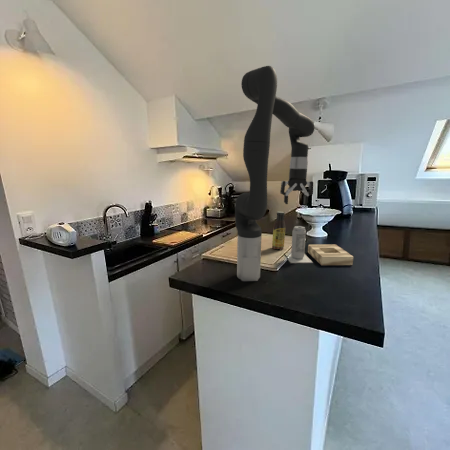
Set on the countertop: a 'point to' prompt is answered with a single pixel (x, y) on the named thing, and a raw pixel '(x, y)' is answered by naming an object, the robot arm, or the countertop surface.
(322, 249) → the socket block
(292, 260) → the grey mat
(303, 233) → the energy drink can
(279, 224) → the sauce bottle
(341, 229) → the countertop surface
